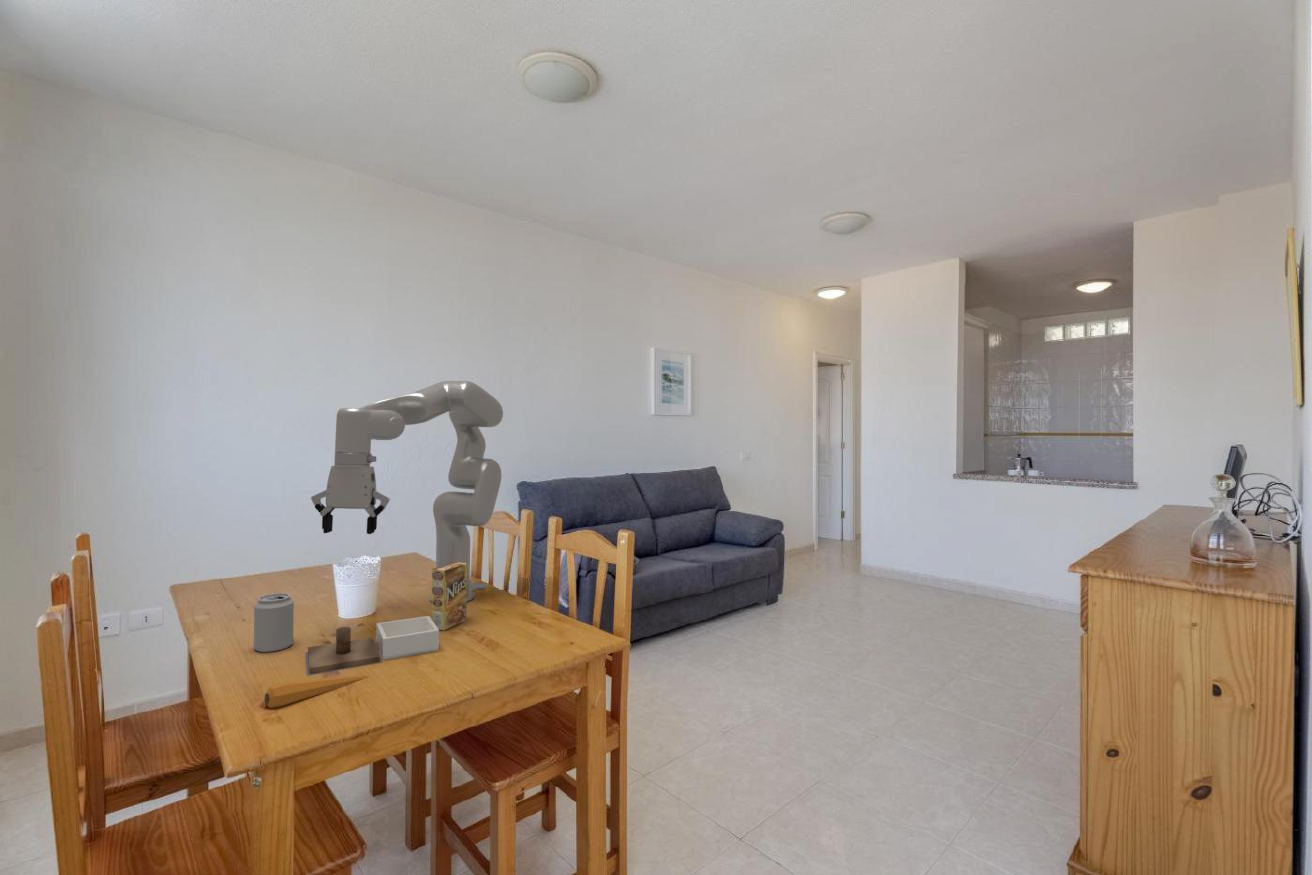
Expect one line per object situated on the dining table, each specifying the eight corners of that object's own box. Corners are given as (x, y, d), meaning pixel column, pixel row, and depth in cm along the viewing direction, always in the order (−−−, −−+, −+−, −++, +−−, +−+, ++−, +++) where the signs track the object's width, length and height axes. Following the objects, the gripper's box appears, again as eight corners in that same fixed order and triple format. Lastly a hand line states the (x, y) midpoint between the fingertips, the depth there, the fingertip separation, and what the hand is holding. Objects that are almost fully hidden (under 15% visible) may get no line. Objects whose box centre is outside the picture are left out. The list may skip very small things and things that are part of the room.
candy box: (444, 631, 147) (445, 570, 147) (430, 629, 149) (431, 568, 148) (467, 620, 155) (468, 562, 155) (453, 618, 157) (454, 561, 157)
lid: (372, 642, 138) (372, 616, 138) (379, 661, 127) (380, 633, 126) (307, 652, 131) (308, 624, 131) (309, 674, 120) (309, 643, 120)
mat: (374, 643, 138) (374, 641, 138) (382, 664, 126) (382, 662, 126) (305, 653, 131) (305, 652, 131) (306, 677, 119) (306, 675, 119)
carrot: (266, 717, 105) (273, 696, 104) (259, 700, 107) (266, 679, 106) (378, 691, 120) (385, 673, 119) (370, 677, 123) (376, 658, 122)
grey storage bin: (428, 636, 144) (428, 615, 143) (438, 652, 134) (439, 630, 134) (376, 644, 137) (376, 623, 137) (382, 662, 128) (383, 639, 127)
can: (301, 645, 136) (301, 593, 136) (270, 656, 129) (270, 602, 129) (277, 640, 139) (277, 589, 138) (245, 651, 131) (246, 598, 131)
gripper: (395, 461, 144) (392, 531, 144) (321, 458, 142) (318, 529, 142) (385, 462, 137) (381, 536, 136) (306, 459, 135) (302, 534, 135)
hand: (349, 532), depth 139 cm, fingers open, 9 cm apart
